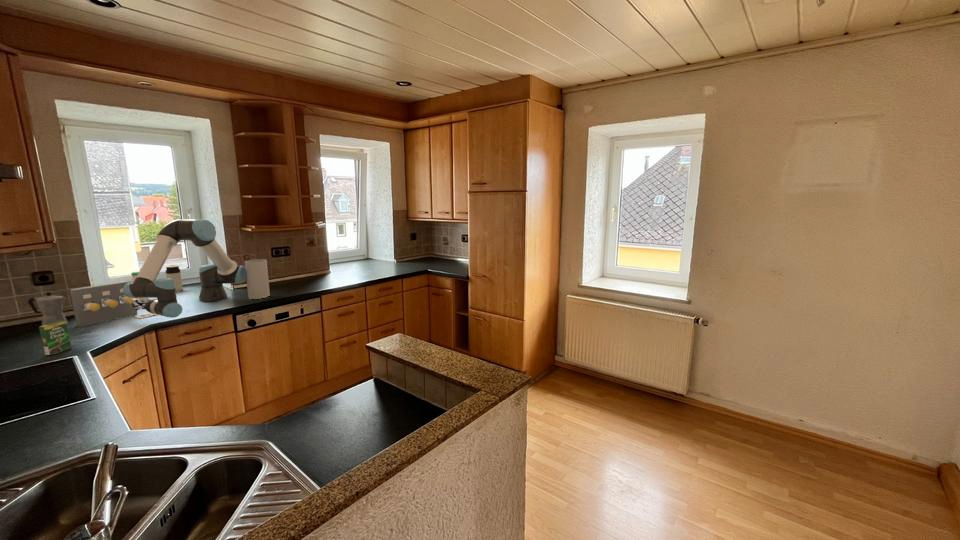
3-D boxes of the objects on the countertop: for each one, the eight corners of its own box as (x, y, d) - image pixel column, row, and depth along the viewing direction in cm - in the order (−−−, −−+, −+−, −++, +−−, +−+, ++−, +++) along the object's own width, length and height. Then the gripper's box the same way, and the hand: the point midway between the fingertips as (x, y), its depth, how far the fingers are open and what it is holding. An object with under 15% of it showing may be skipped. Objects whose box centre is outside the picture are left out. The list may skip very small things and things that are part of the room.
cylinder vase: (261, 300, 249) (257, 262, 244) (243, 299, 251) (240, 261, 246) (274, 295, 261) (271, 259, 256) (257, 294, 263) (254, 258, 258)
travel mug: (182, 289, 275) (179, 264, 272) (183, 291, 269) (179, 266, 266) (168, 290, 270) (164, 265, 267) (168, 292, 264) (165, 267, 261)
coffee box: (49, 356, 160) (43, 326, 158) (44, 356, 161) (37, 326, 158) (72, 349, 168) (67, 320, 165) (67, 348, 168) (61, 320, 166)
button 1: (100, 310, 197) (99, 302, 197) (90, 312, 194) (88, 304, 193) (93, 308, 200) (92, 300, 200) (83, 310, 197) (81, 302, 196)
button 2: (136, 303, 211) (134, 296, 210) (127, 304, 207) (125, 297, 207) (128, 301, 214) (127, 294, 213) (119, 303, 210) (118, 296, 210)
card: (163, 313, 219) (163, 312, 219) (140, 318, 209) (139, 317, 209) (157, 312, 221) (157, 310, 221) (134, 317, 212) (133, 316, 211)
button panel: (137, 314, 217) (132, 281, 213) (80, 326, 196) (73, 290, 192) (133, 313, 219) (128, 280, 215) (76, 325, 197) (69, 289, 194)
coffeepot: (78, 322, 202) (71, 289, 198) (64, 328, 193) (57, 293, 189) (41, 324, 198) (34, 290, 194) (25, 330, 189) (17, 295, 186)
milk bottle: (152, 302, 241) (148, 271, 237) (140, 305, 233) (135, 273, 230) (141, 301, 242) (136, 270, 238) (129, 305, 234) (124, 273, 230)
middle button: (118, 306, 204) (117, 299, 203) (109, 308, 201) (108, 300, 200) (111, 304, 207) (110, 297, 206) (102, 306, 204) (100, 299, 203)
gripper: (143, 317, 193) (118, 310, 203) (172, 310, 205) (148, 304, 214) (141, 302, 192) (116, 297, 201) (171, 296, 203) (146, 291, 213)
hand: (132, 301), depth 208 cm, fingers closed
